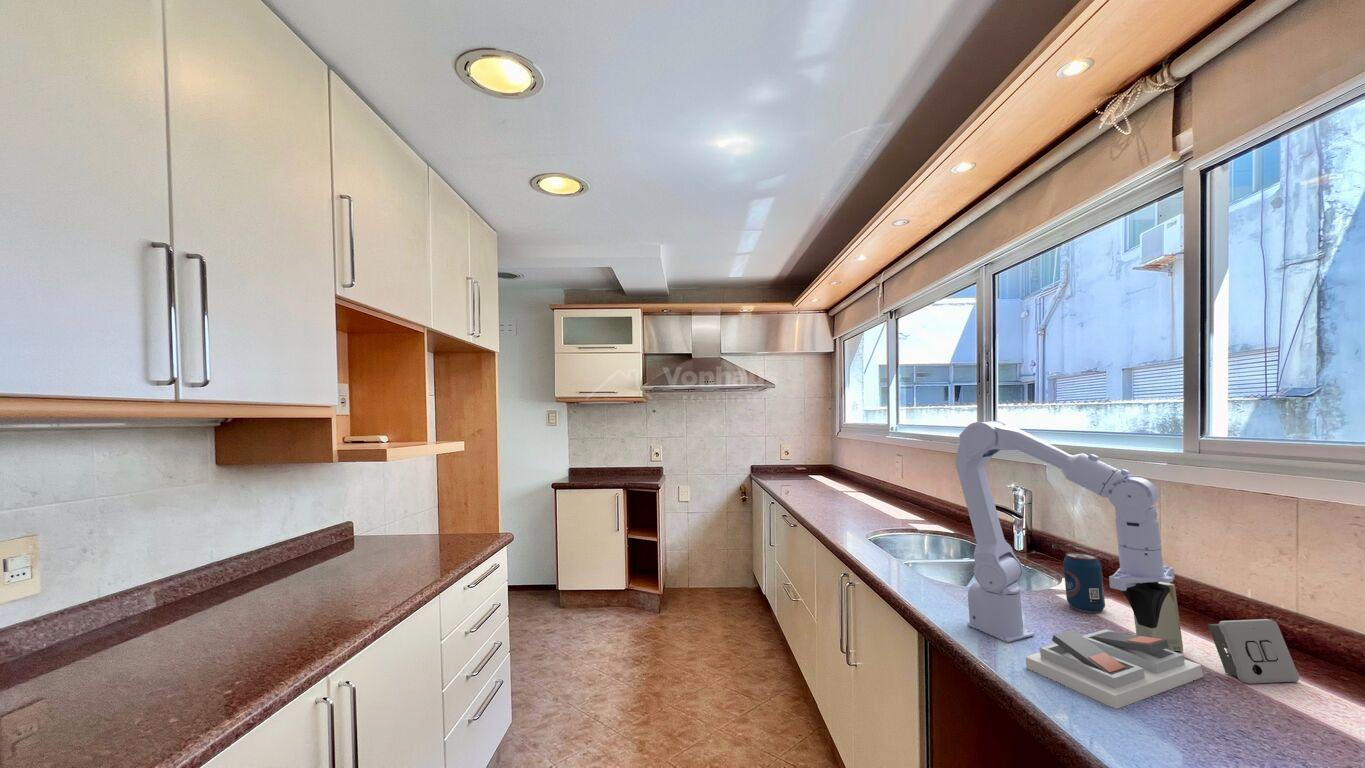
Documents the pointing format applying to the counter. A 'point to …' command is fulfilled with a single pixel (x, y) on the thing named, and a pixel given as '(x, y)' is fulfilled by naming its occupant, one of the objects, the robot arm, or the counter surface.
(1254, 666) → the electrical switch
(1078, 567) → the soda can
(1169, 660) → the breaker panel
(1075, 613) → the counter surface
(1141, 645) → the rocker
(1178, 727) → the counter surface
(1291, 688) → the counter surface
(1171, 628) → the skincare box
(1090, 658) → the rocker
